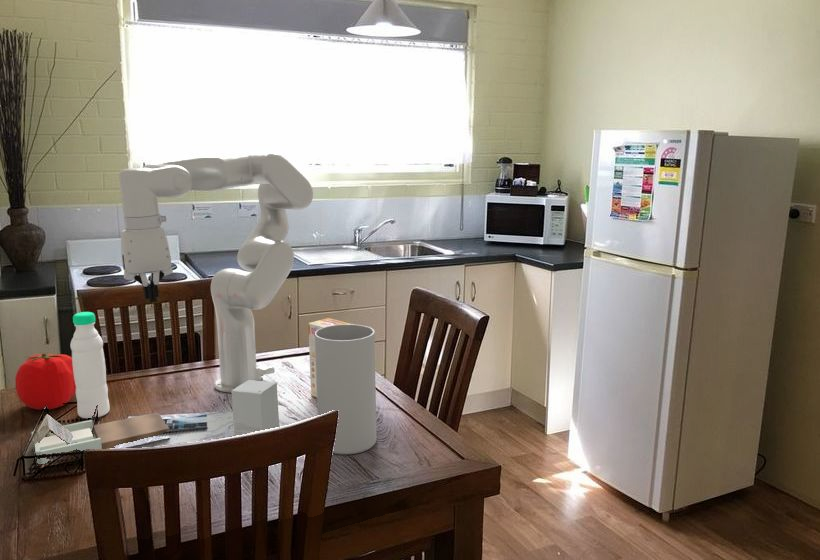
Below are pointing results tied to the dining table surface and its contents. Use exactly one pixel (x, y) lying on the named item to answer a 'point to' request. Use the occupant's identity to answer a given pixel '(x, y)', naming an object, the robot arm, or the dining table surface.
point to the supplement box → (255, 406)
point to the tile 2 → (82, 435)
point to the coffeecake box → (312, 329)
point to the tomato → (45, 381)
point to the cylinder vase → (348, 383)
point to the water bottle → (89, 367)
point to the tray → (82, 445)
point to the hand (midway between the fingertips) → (151, 301)
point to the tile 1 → (51, 442)
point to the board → (130, 429)
